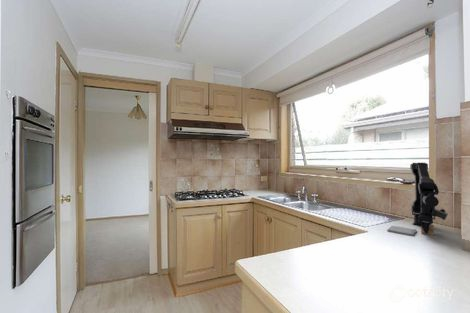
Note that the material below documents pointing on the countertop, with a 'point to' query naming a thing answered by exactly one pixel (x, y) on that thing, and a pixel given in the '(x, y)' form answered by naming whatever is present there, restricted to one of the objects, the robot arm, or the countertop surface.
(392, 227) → the slate coaster
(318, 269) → the countertop surface
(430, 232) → the walnut block
